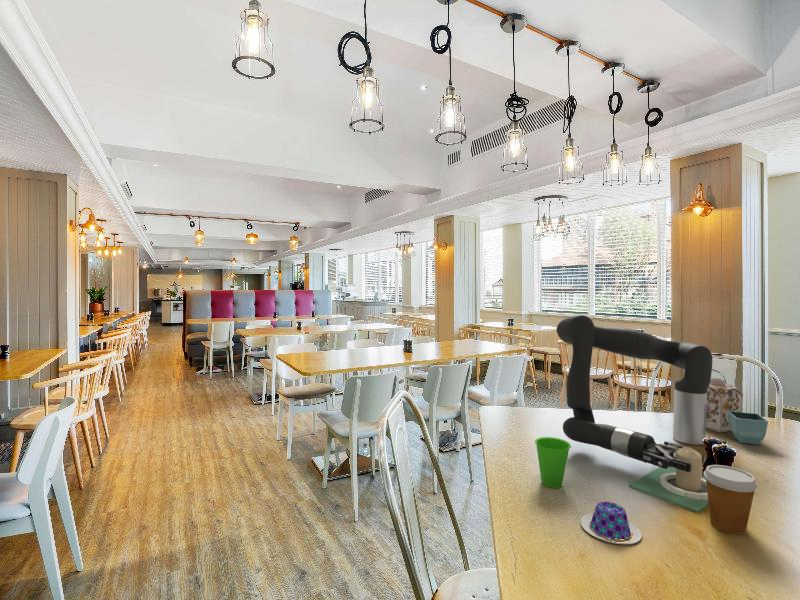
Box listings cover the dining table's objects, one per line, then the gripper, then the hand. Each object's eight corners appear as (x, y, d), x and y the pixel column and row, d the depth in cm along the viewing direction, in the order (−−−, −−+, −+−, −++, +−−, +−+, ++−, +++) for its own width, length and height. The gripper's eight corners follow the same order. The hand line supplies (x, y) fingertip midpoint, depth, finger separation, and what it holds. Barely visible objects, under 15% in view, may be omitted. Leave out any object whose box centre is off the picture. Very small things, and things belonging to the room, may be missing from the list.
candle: (705, 492, 109) (706, 454, 109) (680, 490, 110) (682, 452, 110) (694, 482, 115) (696, 445, 114) (671, 480, 116) (673, 444, 115)
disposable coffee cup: (759, 544, 89) (761, 487, 89) (703, 529, 94) (705, 476, 94) (751, 522, 97) (754, 470, 97) (700, 510, 102) (702, 460, 102)
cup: (569, 478, 118) (570, 439, 118) (570, 494, 109) (571, 451, 109) (534, 473, 121) (535, 435, 121) (533, 488, 112) (534, 446, 112)
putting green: (664, 465, 127) (664, 460, 127) (731, 487, 114) (731, 480, 114) (628, 486, 114) (628, 480, 114) (699, 513, 101) (699, 506, 101)
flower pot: (735, 444, 144) (736, 417, 144) (726, 435, 153) (727, 410, 152) (767, 448, 141) (768, 421, 141) (757, 439, 149) (758, 413, 149)
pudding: (603, 550, 87) (604, 525, 87) (569, 518, 99) (569, 496, 99) (655, 544, 89) (656, 519, 89) (615, 513, 101) (616, 491, 101)
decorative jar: (742, 429, 159) (744, 381, 158) (721, 433, 155) (723, 383, 154) (709, 419, 170) (711, 374, 169) (688, 423, 166) (690, 376, 165)
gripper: (620, 436, 119) (686, 456, 106) (644, 426, 128) (708, 443, 115) (619, 463, 119) (685, 485, 106) (643, 451, 128) (707, 471, 115)
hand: (697, 463), depth 111 cm, fingers open, 8 cm apart
